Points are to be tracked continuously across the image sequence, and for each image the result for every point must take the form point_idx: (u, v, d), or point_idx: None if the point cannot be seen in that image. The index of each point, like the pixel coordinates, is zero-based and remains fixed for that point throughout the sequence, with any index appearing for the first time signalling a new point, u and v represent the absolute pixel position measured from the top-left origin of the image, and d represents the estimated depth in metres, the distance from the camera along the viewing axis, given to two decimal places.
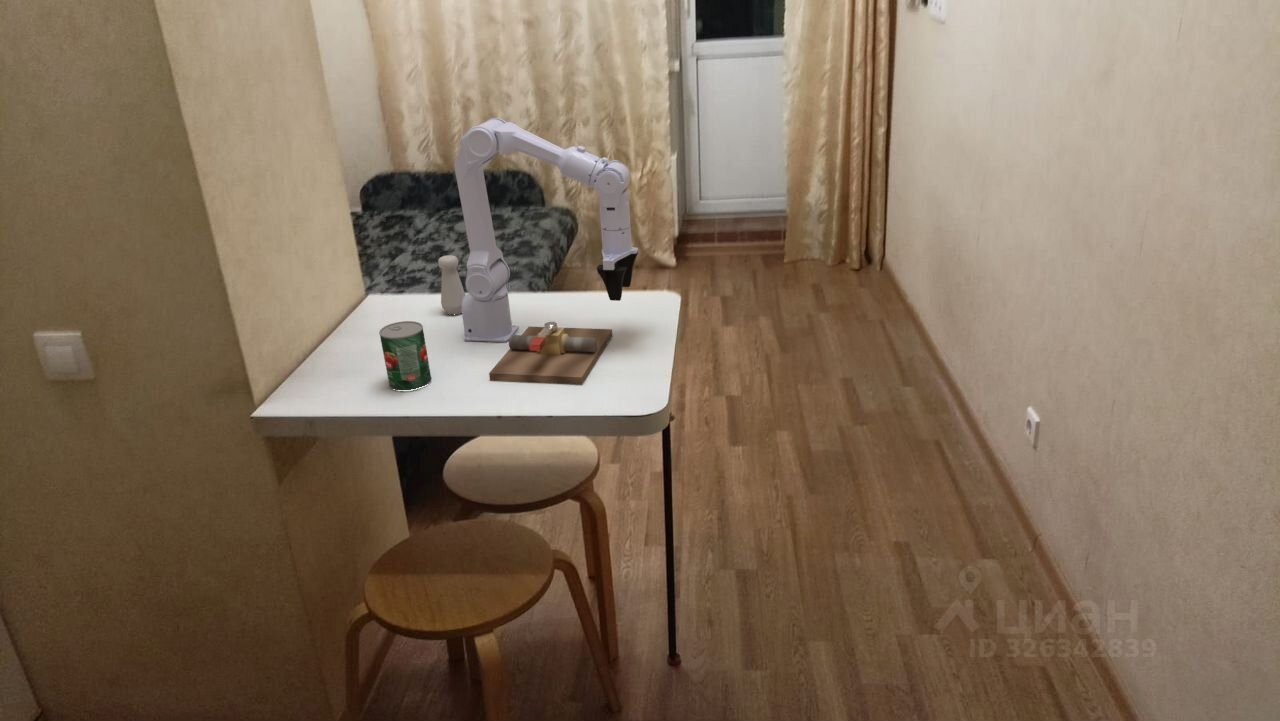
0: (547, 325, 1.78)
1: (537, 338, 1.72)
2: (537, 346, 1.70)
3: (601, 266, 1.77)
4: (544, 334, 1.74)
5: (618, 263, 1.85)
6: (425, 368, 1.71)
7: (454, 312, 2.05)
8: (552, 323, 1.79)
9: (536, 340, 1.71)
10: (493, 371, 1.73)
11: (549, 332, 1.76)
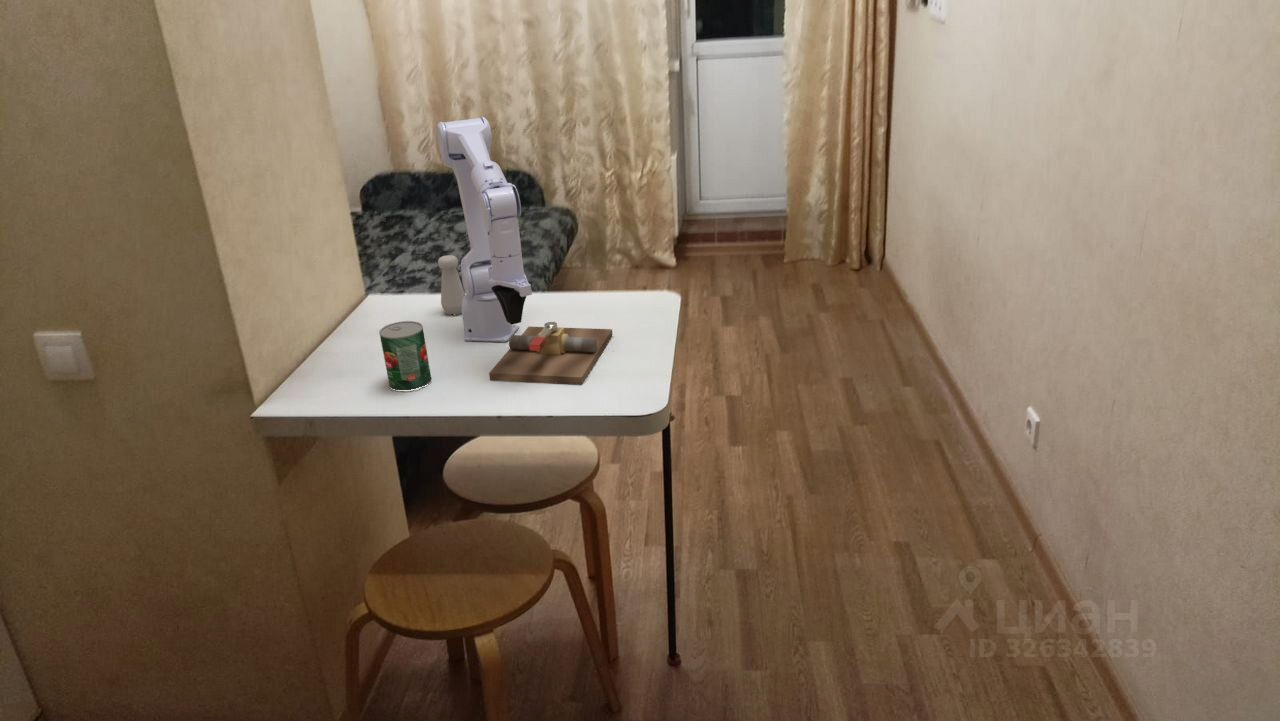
0: (547, 325, 1.78)
1: (537, 338, 1.72)
2: (537, 346, 1.70)
3: None
4: (544, 334, 1.74)
5: None
6: (425, 368, 1.71)
7: (454, 312, 2.05)
8: (552, 323, 1.79)
9: (536, 340, 1.71)
10: (493, 371, 1.73)
11: (549, 332, 1.76)
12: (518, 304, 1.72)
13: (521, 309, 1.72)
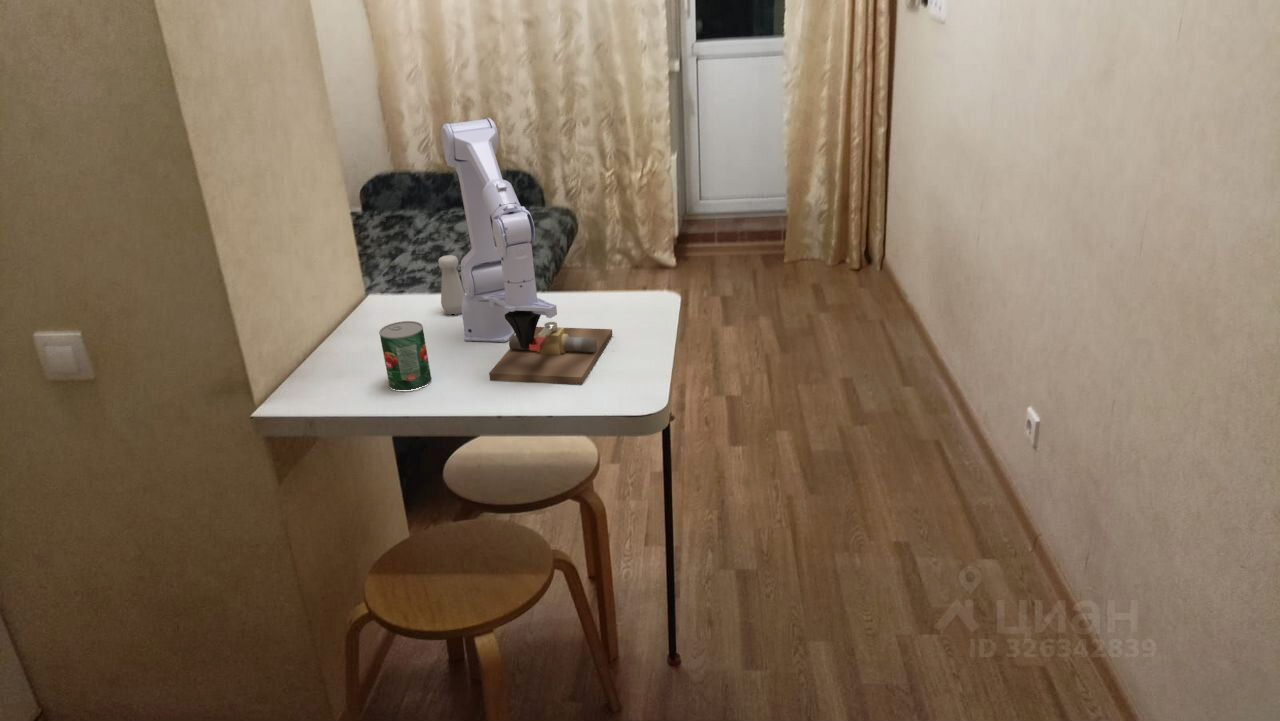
0: (547, 325, 1.78)
1: (537, 338, 1.72)
2: (537, 346, 1.70)
3: None
4: (544, 334, 1.74)
5: None
6: (425, 368, 1.71)
7: (454, 312, 2.05)
8: (552, 323, 1.79)
9: (536, 340, 1.71)
10: (493, 371, 1.73)
11: (549, 332, 1.76)
12: (531, 327, 1.72)
13: (533, 332, 1.73)
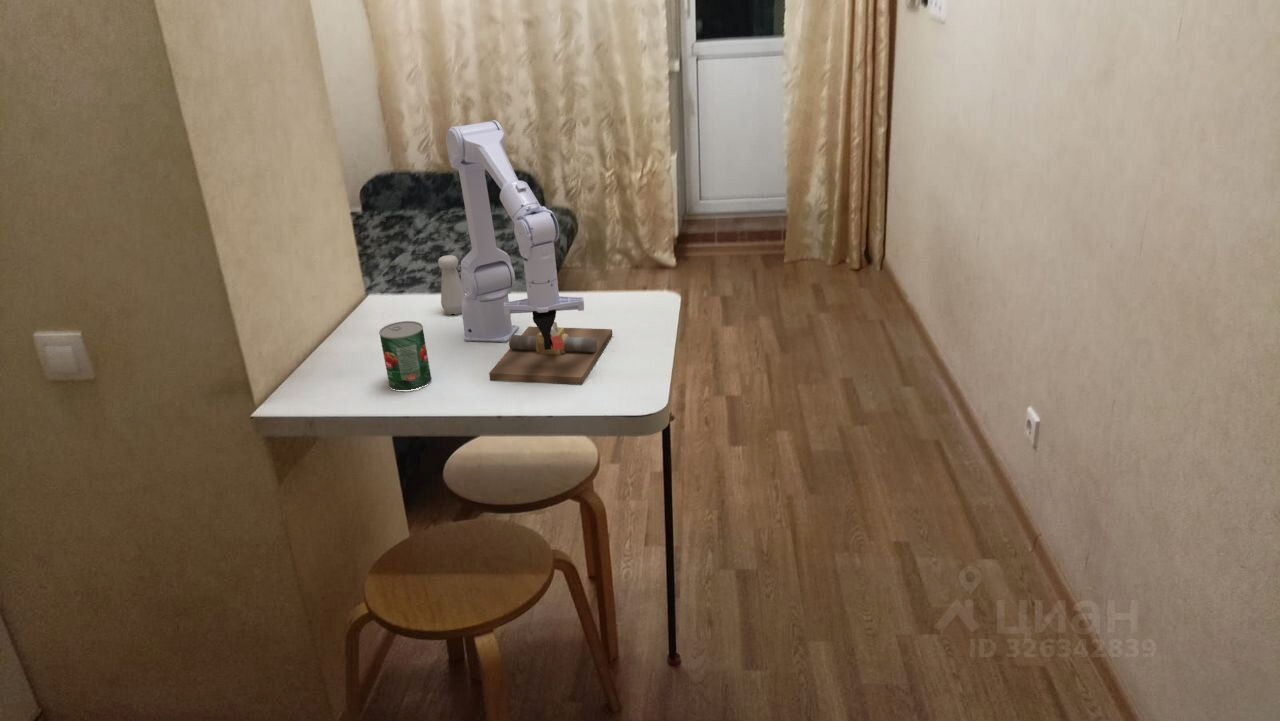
0: None
1: (554, 337, 1.72)
2: (561, 344, 1.70)
3: None
4: (555, 333, 1.74)
5: None
6: (425, 368, 1.71)
7: (454, 312, 2.05)
8: None
9: (555, 339, 1.71)
10: (493, 371, 1.73)
11: None
12: None
13: None
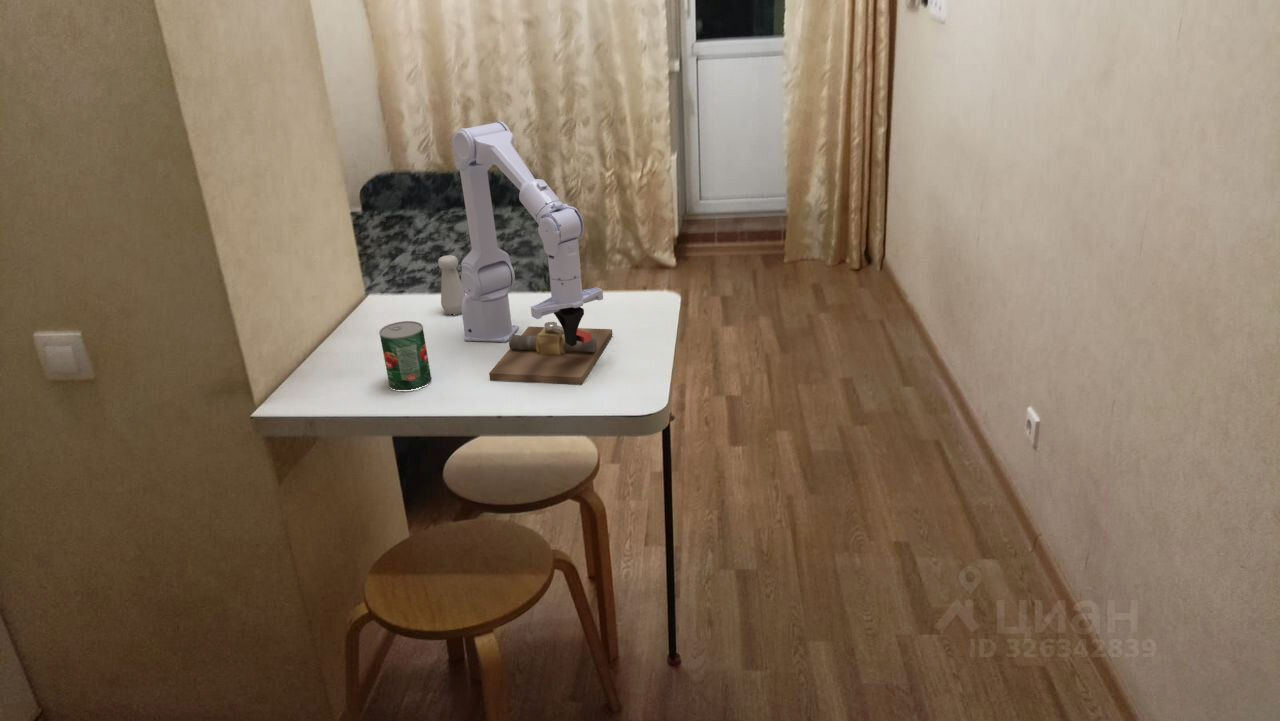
0: (551, 325, 1.78)
1: None
2: (589, 336, 1.73)
3: None
4: None
5: (564, 318, 1.72)
6: (425, 368, 1.71)
7: (454, 312, 2.05)
8: (550, 323, 1.79)
9: (579, 333, 1.73)
10: (493, 371, 1.73)
11: None
12: None
13: None
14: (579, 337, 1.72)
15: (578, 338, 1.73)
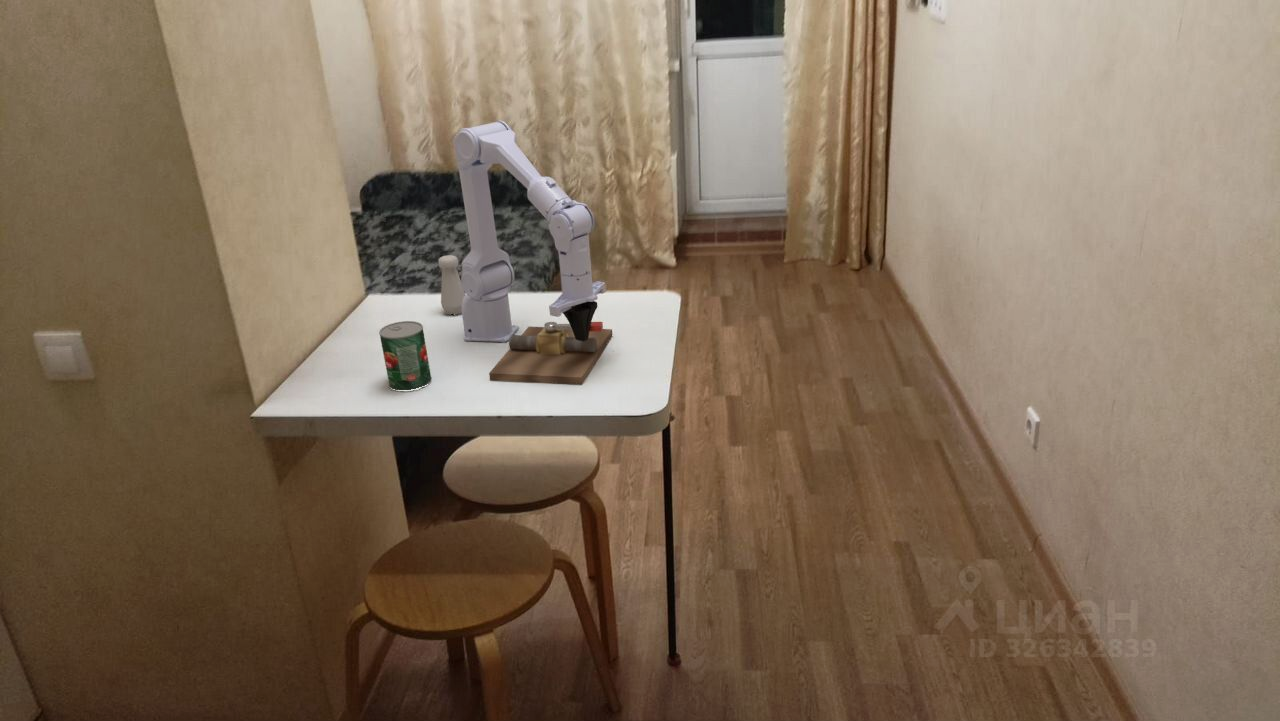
0: (553, 324, 1.78)
1: None
2: (602, 324, 1.78)
3: None
4: None
5: None
6: (425, 368, 1.71)
7: (454, 312, 2.05)
8: (549, 323, 1.79)
9: (591, 324, 1.77)
10: (493, 371, 1.73)
11: None
12: None
13: None
14: (595, 327, 1.77)
15: (593, 328, 1.77)
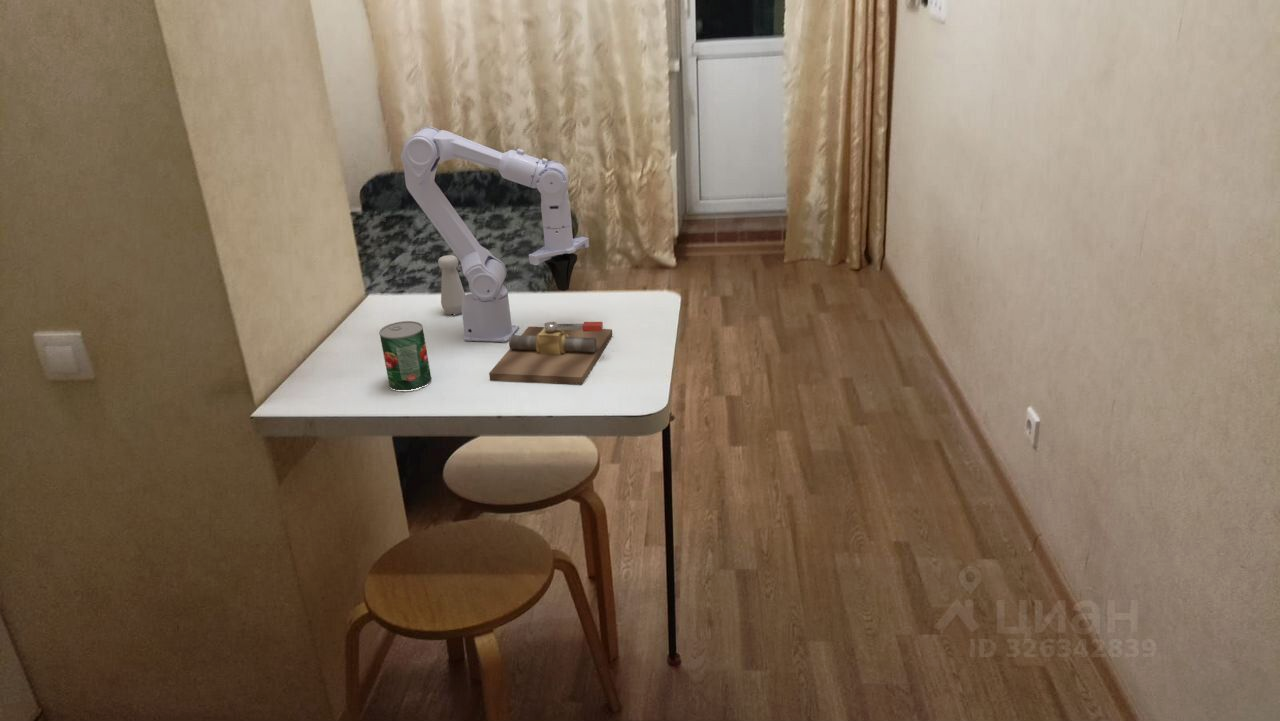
0: (553, 324, 1.78)
1: (586, 324, 1.77)
2: (602, 324, 1.78)
3: None
4: (574, 324, 1.78)
5: None
6: (425, 368, 1.71)
7: (454, 312, 2.05)
8: (549, 323, 1.79)
9: (591, 324, 1.77)
10: (493, 371, 1.73)
11: None
12: None
13: None
14: (595, 327, 1.77)
15: (593, 328, 1.77)
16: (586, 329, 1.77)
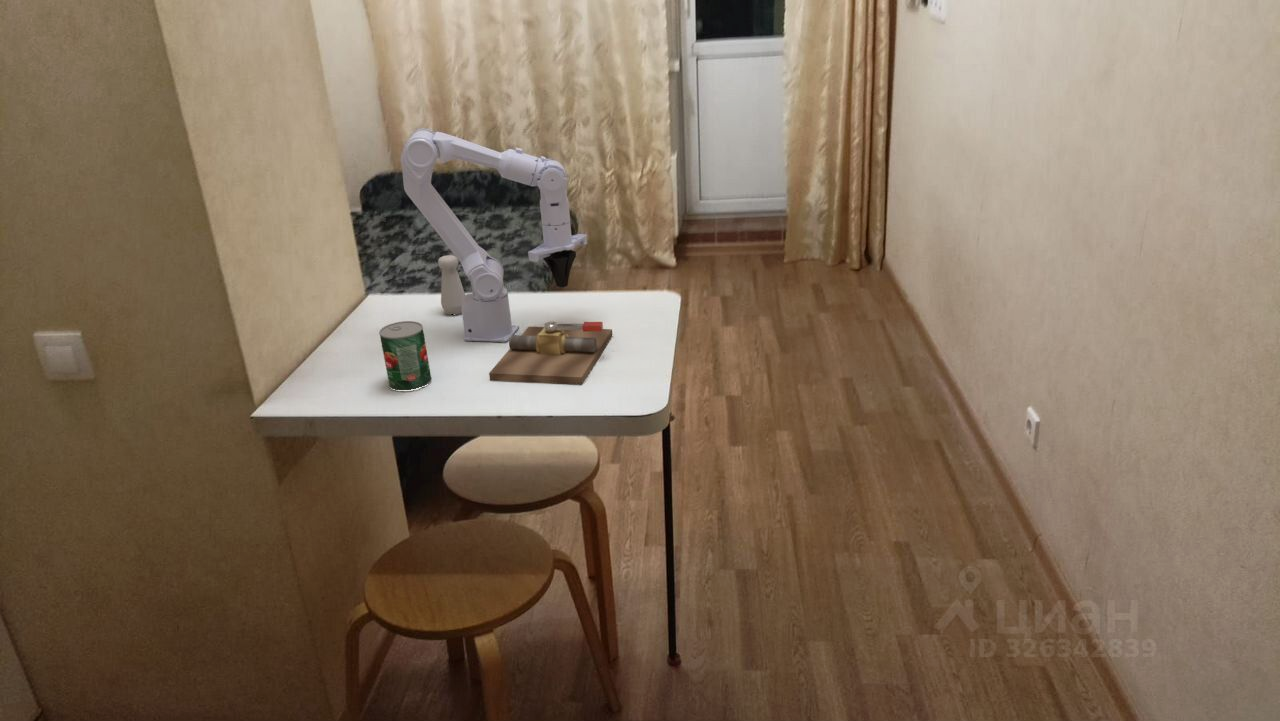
0: (553, 324, 1.78)
1: (586, 324, 1.77)
2: (602, 324, 1.78)
3: None
4: (574, 324, 1.78)
5: None
6: (425, 368, 1.71)
7: (454, 312, 2.05)
8: (549, 323, 1.79)
9: (591, 324, 1.77)
10: (493, 371, 1.73)
11: None
12: None
13: None
14: (595, 327, 1.77)
15: (593, 328, 1.77)
16: (586, 329, 1.77)
